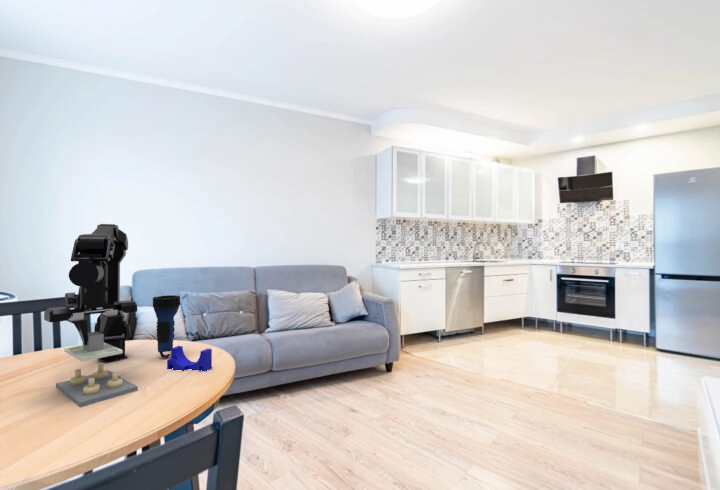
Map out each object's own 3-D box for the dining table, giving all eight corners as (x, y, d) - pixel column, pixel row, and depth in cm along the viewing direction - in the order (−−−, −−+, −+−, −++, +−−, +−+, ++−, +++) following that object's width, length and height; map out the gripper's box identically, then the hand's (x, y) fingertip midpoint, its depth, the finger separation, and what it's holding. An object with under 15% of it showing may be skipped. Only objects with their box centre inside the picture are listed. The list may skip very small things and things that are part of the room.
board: (103, 344, 101) (103, 327, 101) (122, 353, 93) (122, 334, 93) (64, 351, 95) (64, 333, 95) (81, 361, 86) (81, 341, 86)
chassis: (109, 374, 104) (109, 358, 104) (137, 390, 92) (137, 372, 92) (55, 387, 94) (55, 369, 94) (80, 406, 83) (80, 387, 83)
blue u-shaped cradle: (167, 370, 108) (167, 349, 108) (178, 365, 112) (178, 345, 112) (201, 374, 105) (201, 353, 105) (211, 369, 109) (211, 348, 109)
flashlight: (176, 361, 116) (176, 298, 116) (148, 362, 114) (149, 298, 114) (182, 353, 124) (182, 294, 124) (156, 355, 122) (157, 295, 122)
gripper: (122, 279, 106) (122, 333, 106) (38, 284, 91) (38, 346, 91) (138, 281, 99) (138, 338, 99) (50, 287, 85) (50, 354, 84)
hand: (93, 343), depth 94 cm, fingers closed on board, 3 cm apart
